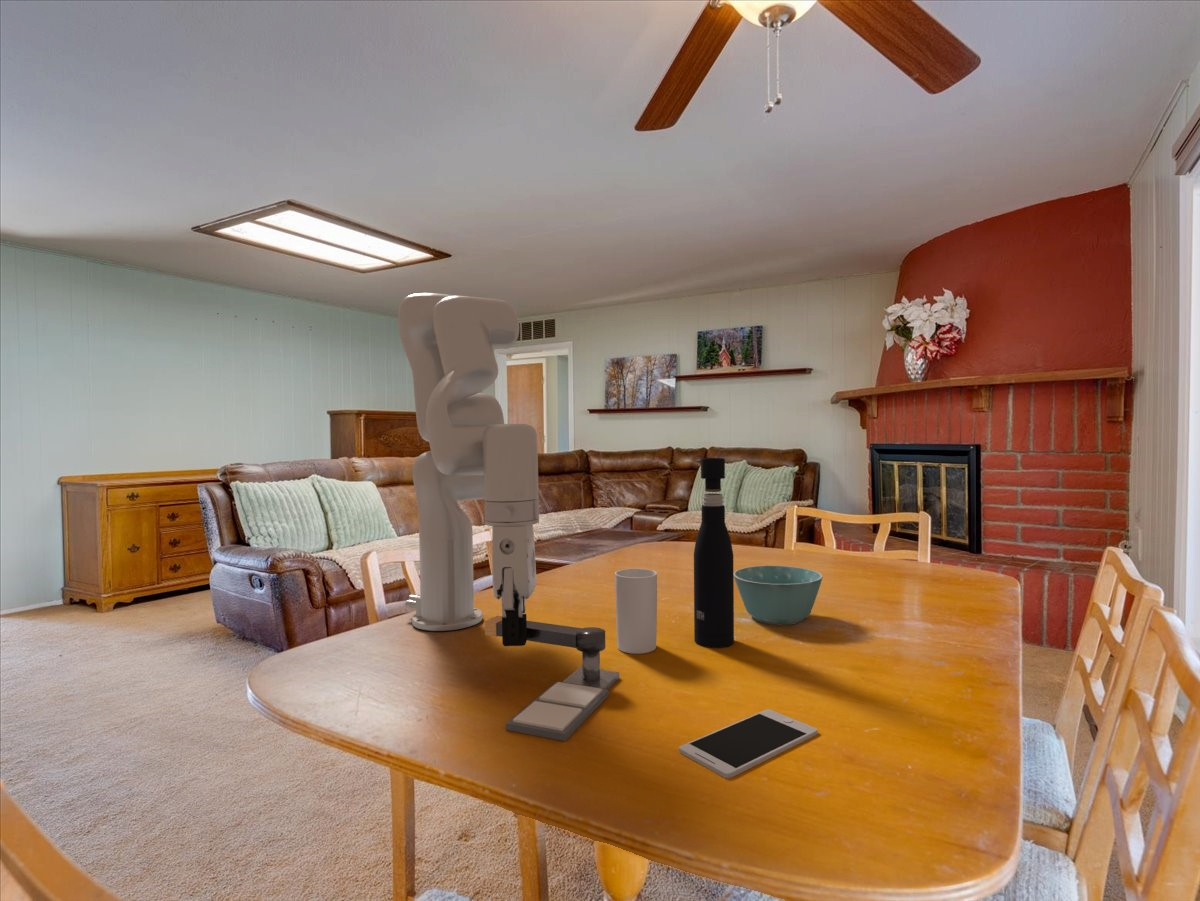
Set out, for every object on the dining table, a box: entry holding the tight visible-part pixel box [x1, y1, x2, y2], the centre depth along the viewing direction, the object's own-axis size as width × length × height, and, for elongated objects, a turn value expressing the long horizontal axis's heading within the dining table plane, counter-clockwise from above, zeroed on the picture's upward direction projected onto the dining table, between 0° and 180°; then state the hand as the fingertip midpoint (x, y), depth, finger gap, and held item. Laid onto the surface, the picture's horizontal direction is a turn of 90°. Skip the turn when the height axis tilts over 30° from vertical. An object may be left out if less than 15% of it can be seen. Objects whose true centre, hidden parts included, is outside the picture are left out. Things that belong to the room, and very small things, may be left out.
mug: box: [614, 567, 658, 655], centre depth 103 cm, size 10×7×12 cm, turn 21°
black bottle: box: [693, 457, 735, 649], centre depth 104 cm, size 6×6×30 cm
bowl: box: [733, 565, 823, 626], centre depth 117 cm, size 16×16×8 cm
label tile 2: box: [532, 681, 609, 718], centre depth 82 cm, size 8×7×1 cm
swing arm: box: [484, 615, 606, 653], centre depth 91 cm, size 18×4×2 cm, turn 64°
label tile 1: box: [505, 700, 590, 742], centre depth 76 cm, size 8×7×1 cm
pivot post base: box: [562, 651, 620, 691], centre depth 88 cm, size 6×6×4 cm
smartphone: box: [678, 709, 819, 779], centre depth 71 cm, size 7×15×1 cm, turn 127°
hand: (514, 643), depth 89 cm, fingers closed
